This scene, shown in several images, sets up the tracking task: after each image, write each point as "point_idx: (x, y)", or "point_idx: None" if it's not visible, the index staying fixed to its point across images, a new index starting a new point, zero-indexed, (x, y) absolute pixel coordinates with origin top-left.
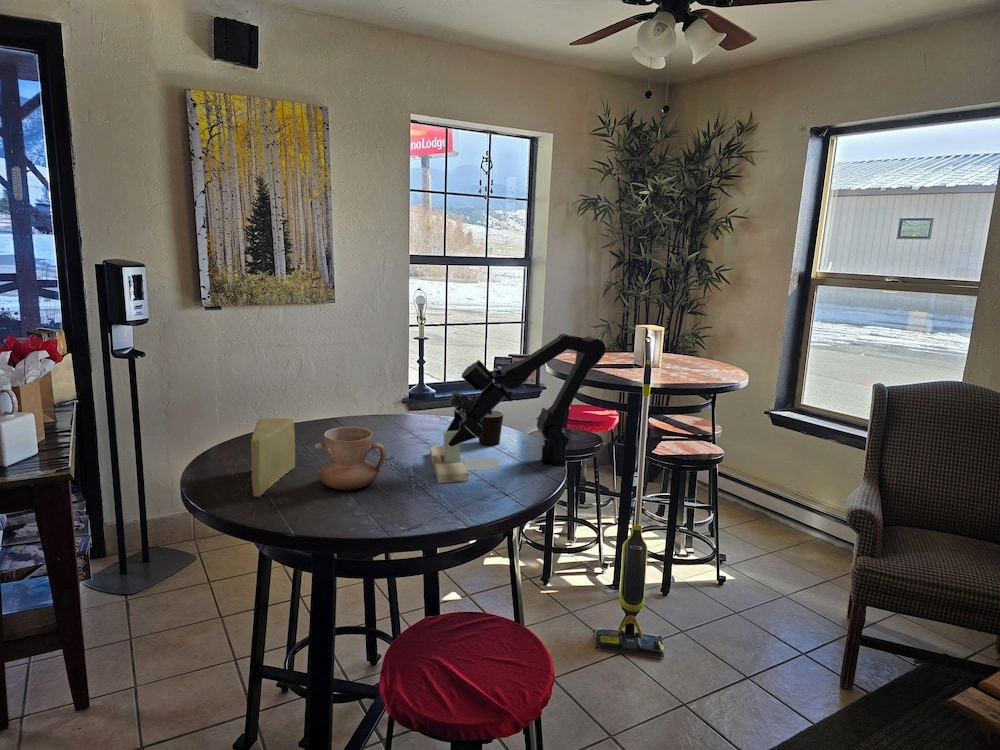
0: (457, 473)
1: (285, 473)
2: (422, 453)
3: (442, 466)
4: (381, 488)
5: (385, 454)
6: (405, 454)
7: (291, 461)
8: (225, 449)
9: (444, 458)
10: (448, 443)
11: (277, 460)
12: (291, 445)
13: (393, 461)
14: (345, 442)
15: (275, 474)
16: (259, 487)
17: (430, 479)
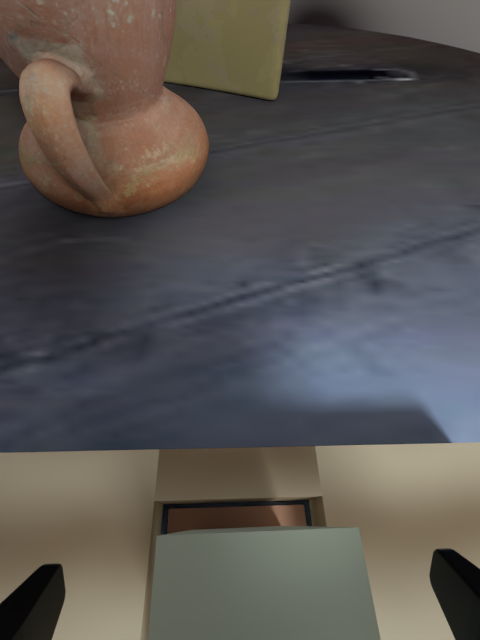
0: None
1: (221, 85)
2: (471, 411)
3: (93, 495)
4: (52, 245)
5: (50, 152)
6: (435, 334)
7: (252, 68)
8: (391, 39)
9: (253, 527)
10: (54, 565)
11: None
12: (253, 11)
13: (337, 288)
14: None
15: None
16: None
17: (72, 424)
